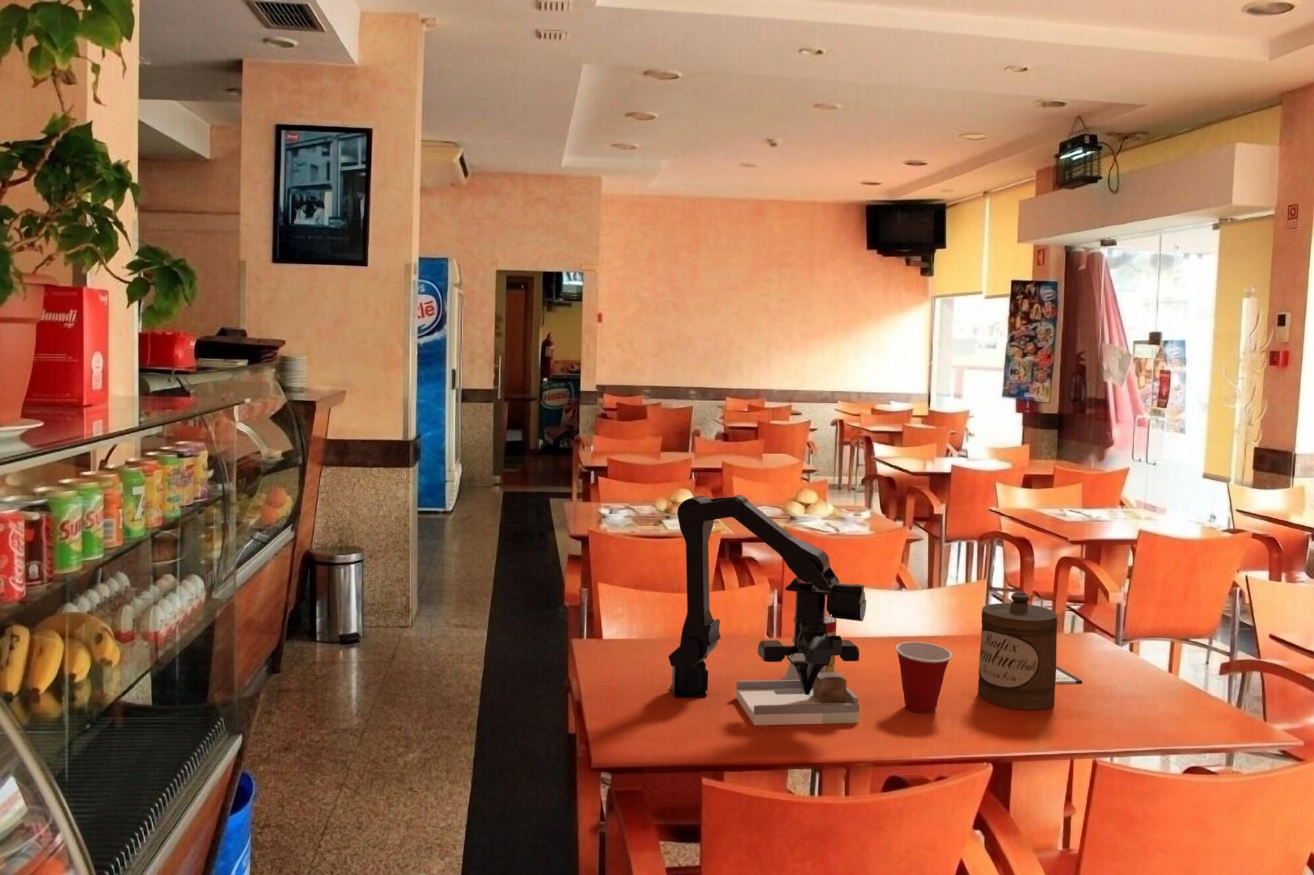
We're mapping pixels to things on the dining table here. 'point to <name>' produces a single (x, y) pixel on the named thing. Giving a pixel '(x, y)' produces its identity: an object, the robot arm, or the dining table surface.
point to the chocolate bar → (1065, 677)
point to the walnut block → (830, 688)
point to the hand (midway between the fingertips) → (806, 694)
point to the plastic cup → (922, 674)
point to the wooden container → (1018, 654)
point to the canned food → (830, 632)
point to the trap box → (792, 704)
